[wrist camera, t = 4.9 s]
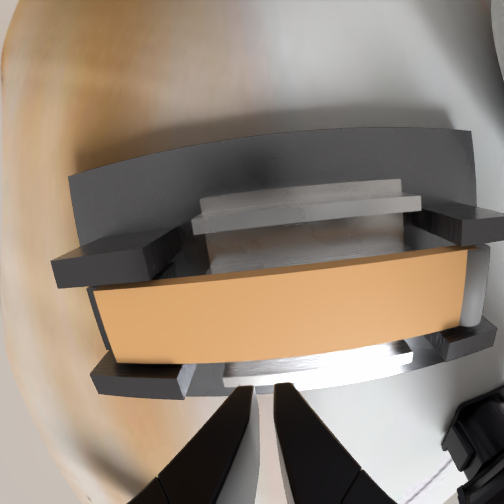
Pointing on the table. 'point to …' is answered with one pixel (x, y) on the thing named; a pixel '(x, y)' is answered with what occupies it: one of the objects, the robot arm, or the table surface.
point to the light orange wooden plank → (295, 307)
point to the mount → (277, 237)
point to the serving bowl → (498, 30)
